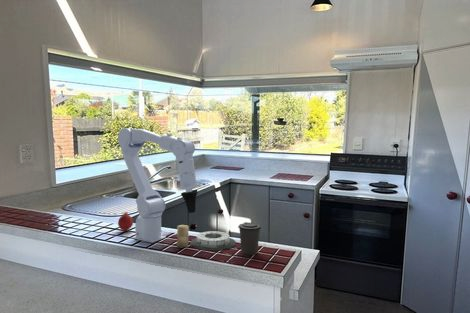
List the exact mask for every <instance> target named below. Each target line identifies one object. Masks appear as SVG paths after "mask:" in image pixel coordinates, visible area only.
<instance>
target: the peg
mask: <svg viewBox="0 0 470 313" xmlns="http://www.w3.org/2000/svg"><path fill="white" fill-rule="evenodd" d="M189 228H190V227H189V225H186V224H180V225H177V226H176V230H177V231H176V236H177V238H176V239H177V240H176V246H177V247H178V248H186V247H188V246H189V230H190V229H189Z"/></svg>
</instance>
